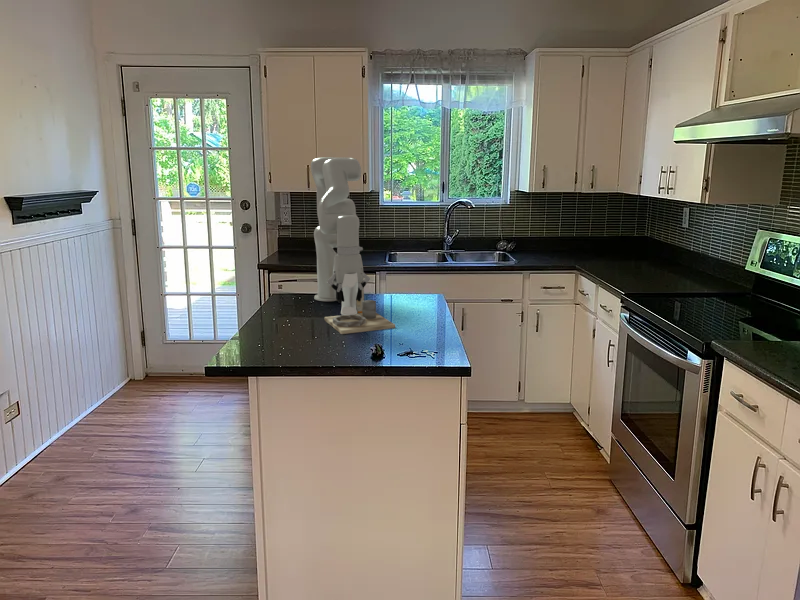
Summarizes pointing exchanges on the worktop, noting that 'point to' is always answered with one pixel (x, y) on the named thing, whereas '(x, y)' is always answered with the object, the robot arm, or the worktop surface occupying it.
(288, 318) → the worktop surface
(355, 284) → the beer glass
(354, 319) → the carrier board
